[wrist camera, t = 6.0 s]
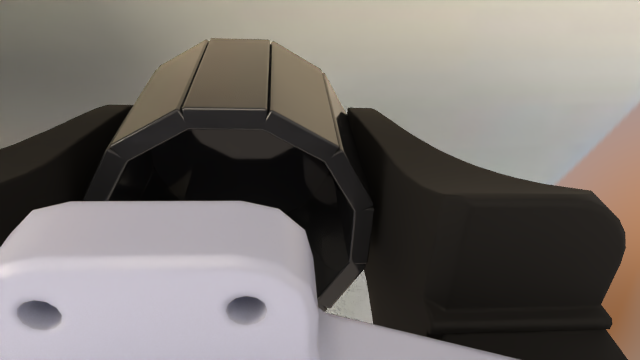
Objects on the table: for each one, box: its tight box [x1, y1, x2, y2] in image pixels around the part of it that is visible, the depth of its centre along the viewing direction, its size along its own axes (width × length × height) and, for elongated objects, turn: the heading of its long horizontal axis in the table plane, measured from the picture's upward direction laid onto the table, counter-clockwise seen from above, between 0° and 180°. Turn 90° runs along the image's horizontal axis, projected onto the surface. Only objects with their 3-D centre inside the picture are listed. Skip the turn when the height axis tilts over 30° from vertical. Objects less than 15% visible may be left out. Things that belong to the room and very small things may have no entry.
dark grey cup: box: [82, 38, 375, 312], centre depth 11 cm, size 5×5×5 cm
